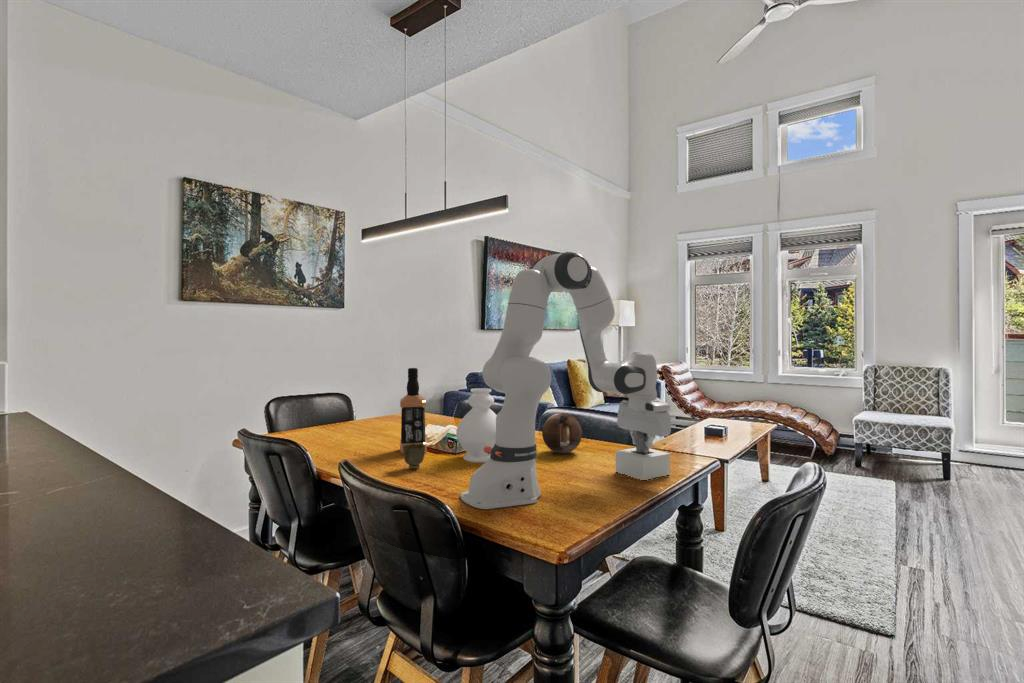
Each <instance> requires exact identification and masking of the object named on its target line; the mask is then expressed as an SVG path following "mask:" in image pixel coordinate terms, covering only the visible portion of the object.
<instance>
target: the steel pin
mask: <svg viewBox="0 0 1024 683" xmlns="http://www.w3.org/2000/svg"><path fill="white" fill-rule="evenodd" d="M648 438H649V437H647V433H642V432H640V431H636V444H635V448H636V453H637V454H641V455H646V454H649V448H647V447H645V442H647V441H648Z"/></svg>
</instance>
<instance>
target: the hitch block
mask: <svg viewBox="0 0 1024 683" xmlns="http://www.w3.org/2000/svg"><path fill="white" fill-rule="evenodd" d="M616 472H618V473H617V474H619V473H621V474H620V475H622V474H625V475H628V476H627V477H629V476H631V477H630V478H632V477H635V478H638V479H641V480H646V479H650V478H655V477H660V476H665V475H671V453H669V452H666V451H662V450H658V449H657V450H656V449H653V448H649V454H646V455H641V454H637V453H636V447H632V448H631V447H630V448H625V449H620V450H619V449H618V450H615V473H616ZM625 475H624V476H625ZM665 477H666V476H665ZM635 478H634V479H635ZM638 479H637V480H638ZM641 480H640V481H641Z"/></svg>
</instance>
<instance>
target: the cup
mask: <svg viewBox="0 0 1024 683" xmlns="http://www.w3.org/2000/svg"><path fill="white" fill-rule="evenodd" d="M424 453H425V446H424V444H422V443H420V444H418V443H417V445H415V444H414V443H413V444H411V443H410V445H408V444H407V446H406V445H405V444H404V445H403V454H404V455H403V459H404V462H405V463H406V464H407V465H408V467H407V468H408V469H409V470H412V471H415V470H418V469H420V466H421V465H420V464H422V463H423V461H424V458H425V454H426V453H425V454H424Z"/></svg>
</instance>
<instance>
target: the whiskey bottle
mask: <svg viewBox="0 0 1024 683" xmlns="http://www.w3.org/2000/svg"><path fill="white" fill-rule="evenodd" d="M418 371H419V369H418V368H417V367H409V368H408V369H407V379H408V380H407V382H406V383H407V384H406V394H405V395H404V396H403V397H402V398H400V400H399V403H400V404H399V408H401V416H400V417H401V418H400V419H401V421H400V423H401V425H400V428H401V429H400V431H401V432H400V440H399V455H401V456H402V455H403V456H404V454H403V445H404V444H405V445H406V446H407V444H408V445H410V443H411V444H413V443H414V444H415V445H417V443H418V444H420V443H422V444H424V446H425V453H424V455H425V454H427V453H428V451H427V450H428V448H427V440H426V416H425V415H426V414H425V413H426V412H425V408H426V407H427V401H426V398H424V397H423V396H422V395H420V393H419V392H420V383H419V379H418V377H419V376H418V374H419V372H418Z"/></svg>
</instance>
